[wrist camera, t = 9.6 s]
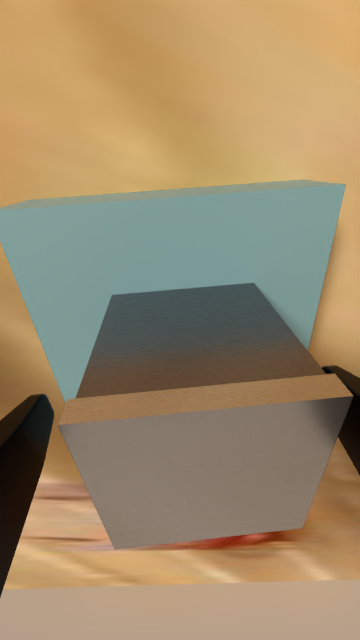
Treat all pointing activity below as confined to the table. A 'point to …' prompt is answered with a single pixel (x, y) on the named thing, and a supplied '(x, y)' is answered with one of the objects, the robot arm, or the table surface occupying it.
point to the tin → (201, 418)
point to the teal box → (165, 254)
